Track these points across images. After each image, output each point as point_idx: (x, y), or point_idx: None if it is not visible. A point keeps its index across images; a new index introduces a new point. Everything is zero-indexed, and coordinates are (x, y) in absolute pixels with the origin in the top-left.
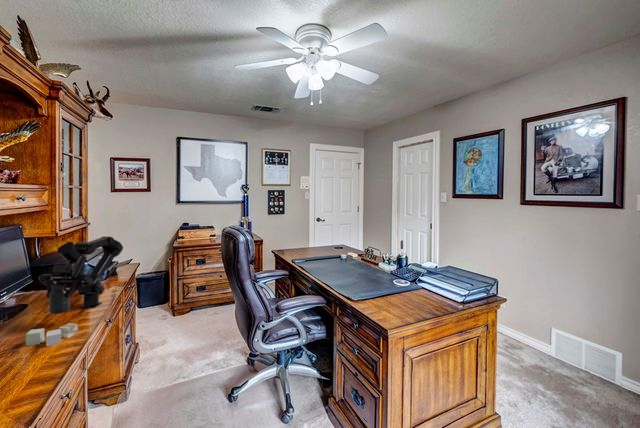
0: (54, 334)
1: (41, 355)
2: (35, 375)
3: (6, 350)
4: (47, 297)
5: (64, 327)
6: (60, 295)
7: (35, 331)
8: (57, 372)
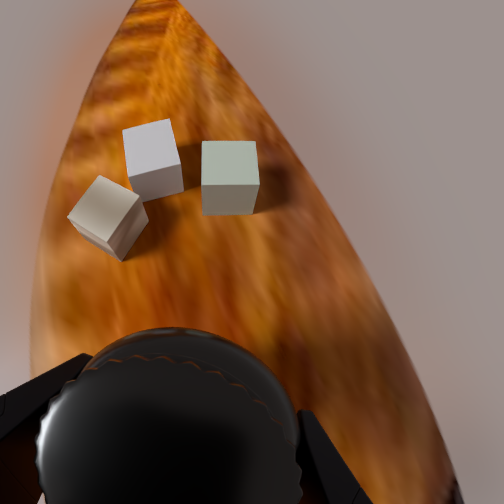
0: (142, 127)
1: (170, 99)
2: (159, 39)
3: (298, 161)
4: (304, 412)
5: (115, 189)
6: (131, 334)
7: (227, 158)
8: (121, 41)
